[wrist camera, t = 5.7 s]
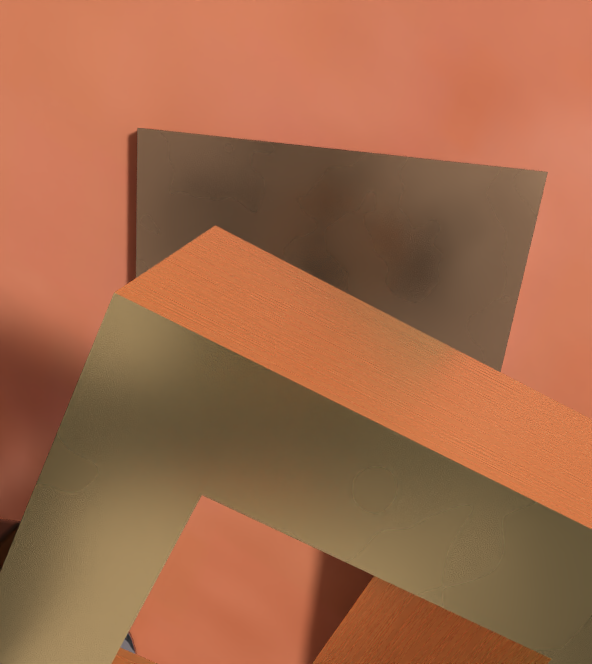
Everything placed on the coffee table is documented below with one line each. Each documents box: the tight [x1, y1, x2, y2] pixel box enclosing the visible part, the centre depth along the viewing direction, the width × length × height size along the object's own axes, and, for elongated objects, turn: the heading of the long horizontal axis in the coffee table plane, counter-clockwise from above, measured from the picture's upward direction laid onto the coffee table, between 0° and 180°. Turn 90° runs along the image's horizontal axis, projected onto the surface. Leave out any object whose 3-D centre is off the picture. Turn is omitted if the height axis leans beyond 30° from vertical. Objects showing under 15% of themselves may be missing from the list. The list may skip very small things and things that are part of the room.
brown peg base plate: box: [136, 128, 548, 372], centre depth 15 cm, size 11×11×5 cm
